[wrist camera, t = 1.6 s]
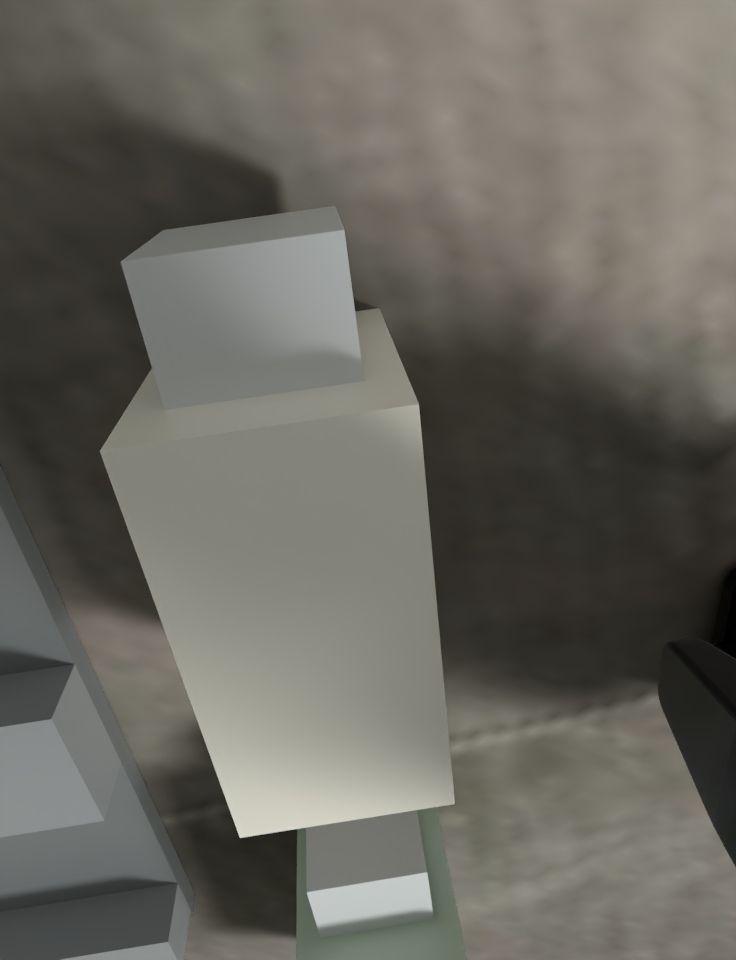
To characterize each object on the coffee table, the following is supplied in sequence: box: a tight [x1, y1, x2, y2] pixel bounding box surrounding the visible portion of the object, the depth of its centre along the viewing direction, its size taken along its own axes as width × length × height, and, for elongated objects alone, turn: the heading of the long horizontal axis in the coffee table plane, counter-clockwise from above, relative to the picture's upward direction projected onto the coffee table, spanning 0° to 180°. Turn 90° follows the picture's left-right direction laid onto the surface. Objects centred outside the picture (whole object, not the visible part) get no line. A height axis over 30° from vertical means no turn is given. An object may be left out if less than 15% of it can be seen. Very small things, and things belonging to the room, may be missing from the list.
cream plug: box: [100, 206, 455, 838], centre depth 12 cm, size 10×4×5 cm, turn 7°
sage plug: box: [296, 807, 467, 960], centre depth 18 cm, size 10×4×5 cm, turn 8°
